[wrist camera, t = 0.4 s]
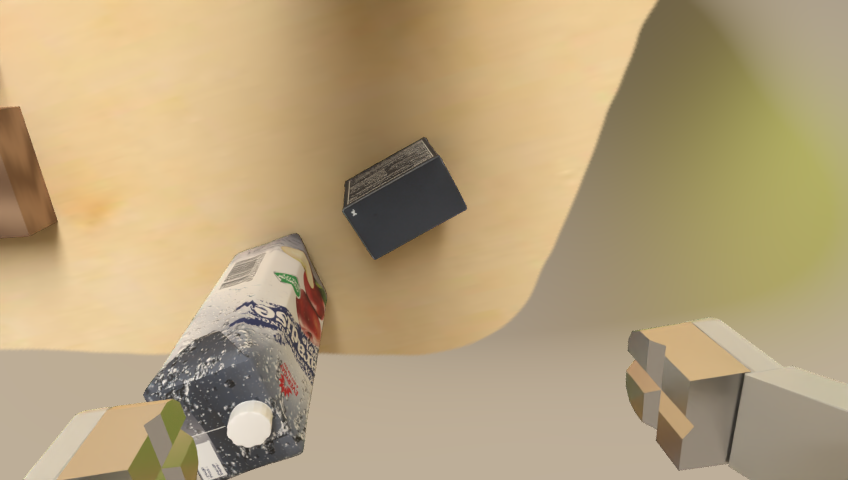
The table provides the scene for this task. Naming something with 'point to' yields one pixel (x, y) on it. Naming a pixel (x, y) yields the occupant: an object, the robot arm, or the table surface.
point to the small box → (401, 198)
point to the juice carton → (249, 361)
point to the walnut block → (21, 180)
